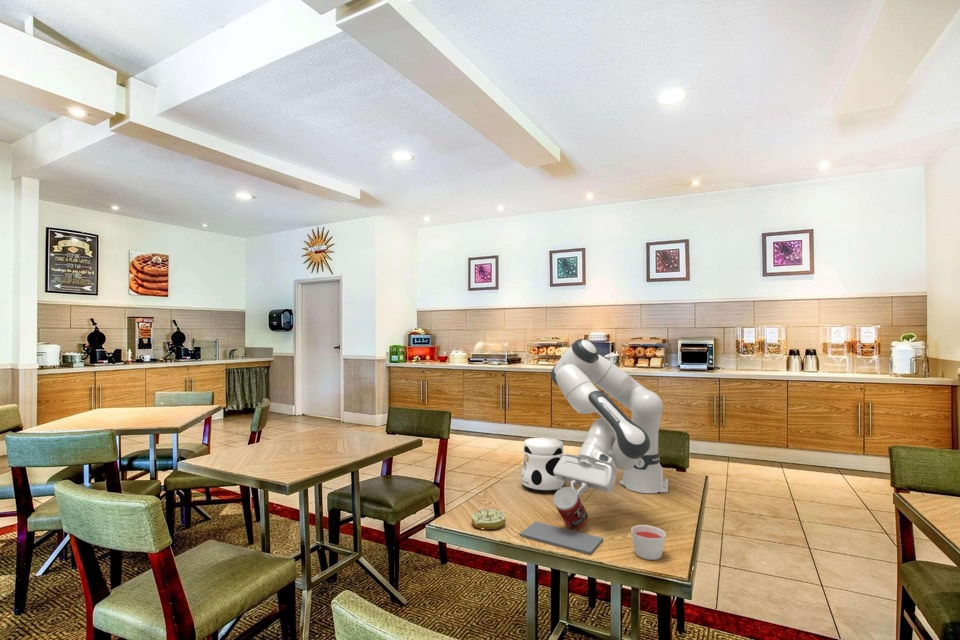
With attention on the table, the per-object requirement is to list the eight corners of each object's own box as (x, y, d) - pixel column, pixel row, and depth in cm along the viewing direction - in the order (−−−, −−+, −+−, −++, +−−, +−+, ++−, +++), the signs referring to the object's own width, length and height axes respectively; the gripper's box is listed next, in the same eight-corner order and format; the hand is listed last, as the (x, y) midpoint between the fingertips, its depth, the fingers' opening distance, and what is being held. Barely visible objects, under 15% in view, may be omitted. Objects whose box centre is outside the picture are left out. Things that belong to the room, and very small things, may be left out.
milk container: (513, 483, 193) (514, 438, 193) (551, 479, 199) (552, 435, 200) (533, 497, 177) (533, 448, 177) (574, 492, 183) (574, 445, 183)
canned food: (577, 535, 146) (565, 513, 141) (560, 520, 152) (548, 499, 147) (594, 517, 148) (582, 495, 143) (576, 504, 155) (565, 482, 150)
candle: (637, 544, 138) (637, 522, 138) (669, 553, 133) (669, 530, 133) (626, 556, 131) (626, 532, 131) (660, 565, 126) (660, 541, 126)
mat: (535, 523, 152) (535, 521, 152) (603, 540, 140) (603, 537, 141) (519, 536, 143) (519, 533, 143) (590, 555, 131) (590, 552, 131)
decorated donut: (470, 519, 156) (470, 507, 156) (503, 518, 157) (503, 506, 157) (473, 532, 146) (473, 519, 146) (507, 531, 147) (507, 518, 147)
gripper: (560, 447, 163) (543, 481, 155) (616, 459, 149) (600, 497, 141) (566, 458, 166) (550, 493, 158) (622, 471, 152) (607, 509, 145)
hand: (574, 495), depth 150 cm, fingers closed, pressing on canned food
